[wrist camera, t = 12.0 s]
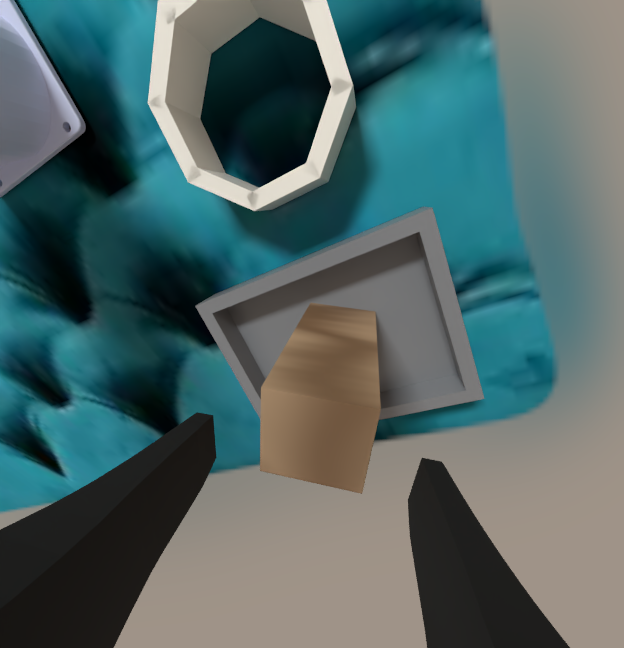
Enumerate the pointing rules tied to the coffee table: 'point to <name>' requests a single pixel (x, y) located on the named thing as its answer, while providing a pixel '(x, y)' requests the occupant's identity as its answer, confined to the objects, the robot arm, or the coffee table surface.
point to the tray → (366, 294)
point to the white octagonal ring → (190, 82)
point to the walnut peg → (323, 400)
